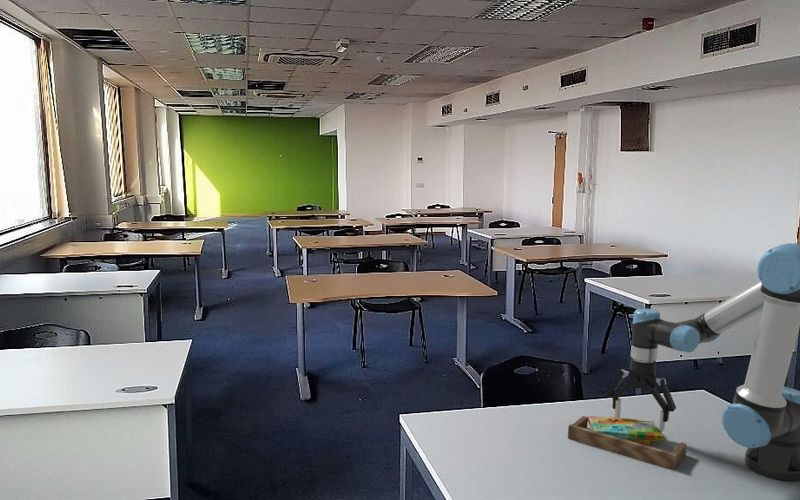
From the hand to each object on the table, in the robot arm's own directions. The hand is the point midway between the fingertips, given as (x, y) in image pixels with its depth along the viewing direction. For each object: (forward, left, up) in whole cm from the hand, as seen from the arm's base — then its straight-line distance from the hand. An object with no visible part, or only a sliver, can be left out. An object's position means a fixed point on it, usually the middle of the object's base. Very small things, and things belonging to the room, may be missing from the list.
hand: (639, 425), depth 196 cm
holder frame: (0, +12, -3) cm, 12 cm away
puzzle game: (+3, +6, -3) cm, 7 cm away
